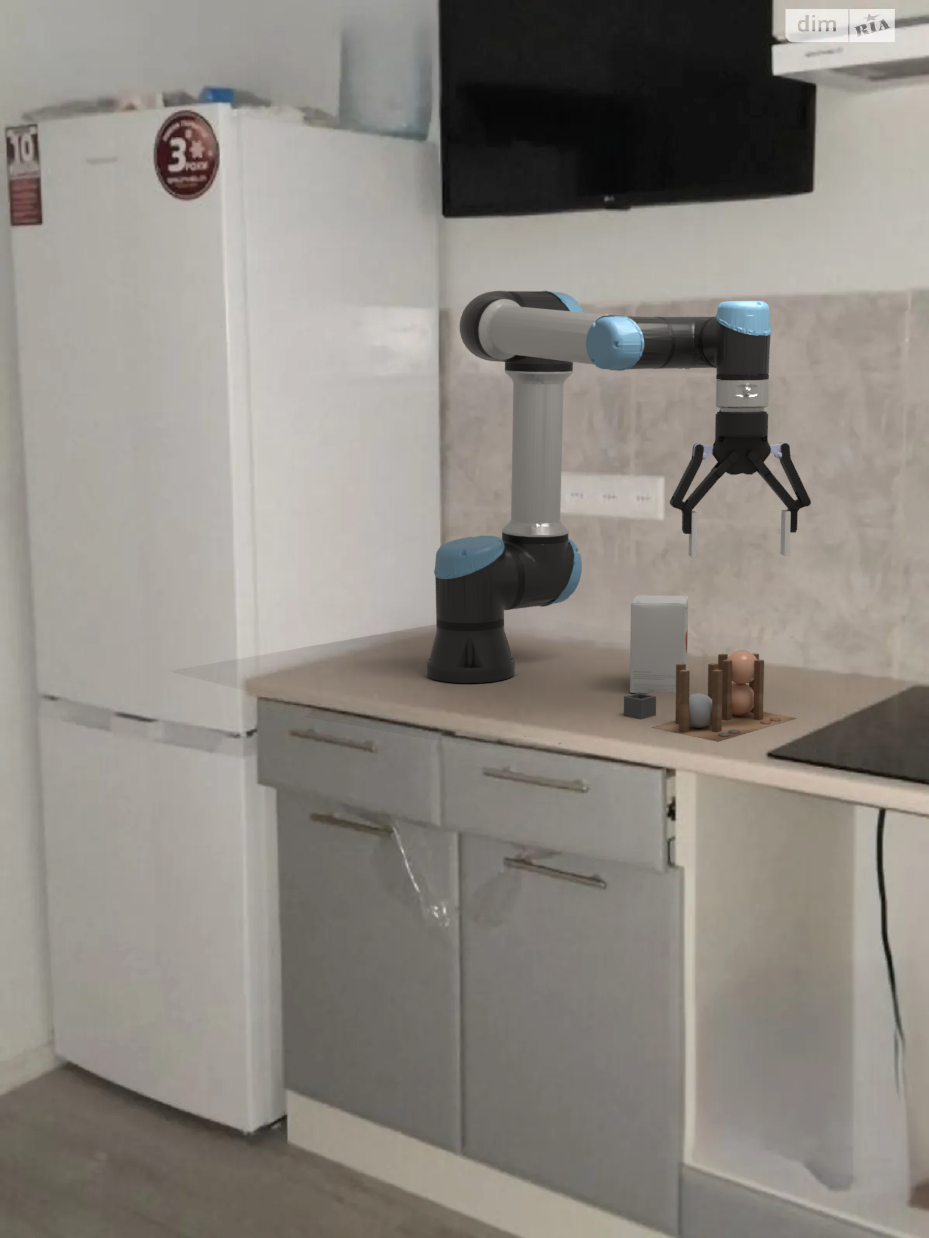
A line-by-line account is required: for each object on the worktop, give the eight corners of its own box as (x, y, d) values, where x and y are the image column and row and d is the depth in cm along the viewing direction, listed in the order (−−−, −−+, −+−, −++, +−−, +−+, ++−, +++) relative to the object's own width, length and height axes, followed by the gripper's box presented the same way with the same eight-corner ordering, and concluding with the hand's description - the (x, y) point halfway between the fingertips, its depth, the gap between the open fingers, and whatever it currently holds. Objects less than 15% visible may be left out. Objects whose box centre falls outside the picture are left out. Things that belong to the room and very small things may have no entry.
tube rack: (651, 731, 221) (651, 667, 220) (731, 709, 234) (731, 648, 232) (718, 745, 213) (719, 679, 211) (796, 722, 225) (798, 659, 224)
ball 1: (673, 727, 221) (674, 693, 220) (695, 721, 224) (695, 688, 223) (701, 733, 217) (701, 699, 216) (722, 727, 220) (723, 693, 220)
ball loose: (718, 670, 229) (728, 641, 227) (750, 677, 229) (761, 648, 227) (722, 685, 224) (732, 656, 222) (755, 693, 225) (765, 664, 223)
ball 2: (716, 717, 227) (713, 684, 227) (736, 712, 231) (733, 679, 230) (743, 719, 224) (740, 685, 223) (763, 713, 227) (761, 680, 227)
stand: (623, 719, 229) (623, 696, 228) (638, 715, 231) (638, 692, 230) (641, 723, 226) (641, 700, 226) (655, 719, 229) (656, 696, 228)
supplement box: (685, 695, 244) (686, 603, 241) (629, 694, 246) (629, 602, 243) (688, 683, 253) (689, 594, 250) (634, 682, 254) (634, 593, 252)
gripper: (659, 412, 216) (657, 560, 220) (834, 410, 217) (829, 557, 220) (652, 409, 224) (650, 553, 227) (821, 407, 224) (817, 551, 228)
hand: (738, 555), depth 224 cm, fingers open, 13 cm apart
